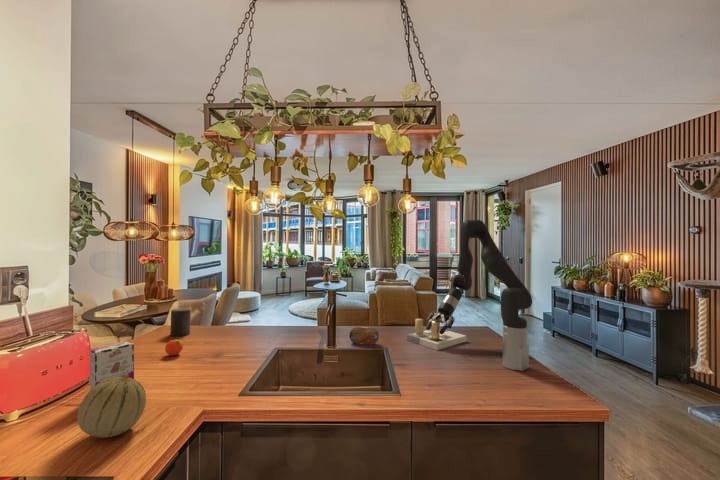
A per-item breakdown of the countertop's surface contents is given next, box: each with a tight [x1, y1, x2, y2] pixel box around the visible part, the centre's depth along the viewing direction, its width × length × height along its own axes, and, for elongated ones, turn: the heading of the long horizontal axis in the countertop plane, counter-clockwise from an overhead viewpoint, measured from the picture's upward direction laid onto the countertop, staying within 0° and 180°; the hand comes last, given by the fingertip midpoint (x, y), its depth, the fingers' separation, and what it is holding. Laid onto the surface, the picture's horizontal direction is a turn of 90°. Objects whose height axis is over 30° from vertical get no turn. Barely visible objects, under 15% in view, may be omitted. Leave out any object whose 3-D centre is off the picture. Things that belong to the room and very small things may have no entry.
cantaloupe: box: [77, 374, 147, 439], centre depth 88 cm, size 15×15×15 cm
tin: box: [348, 326, 380, 346], centre depth 168 cm, size 15×3×8 cm, turn 80°
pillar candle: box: [169, 307, 192, 337], centre depth 181 cm, size 10×10×15 cm
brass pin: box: [431, 321, 441, 342], centre depth 165 cm, size 4×4×12 cm
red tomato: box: [164, 339, 184, 356], centre depth 148 cm, size 8×7×7 cm
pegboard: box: [406, 318, 467, 351], centre depth 174 cm, size 20×24×11 cm
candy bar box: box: [89, 341, 135, 391], centre depth 109 cm, size 11×5×16 cm, turn 148°
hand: (433, 331), depth 165 cm, fingers open, 8 cm apart
